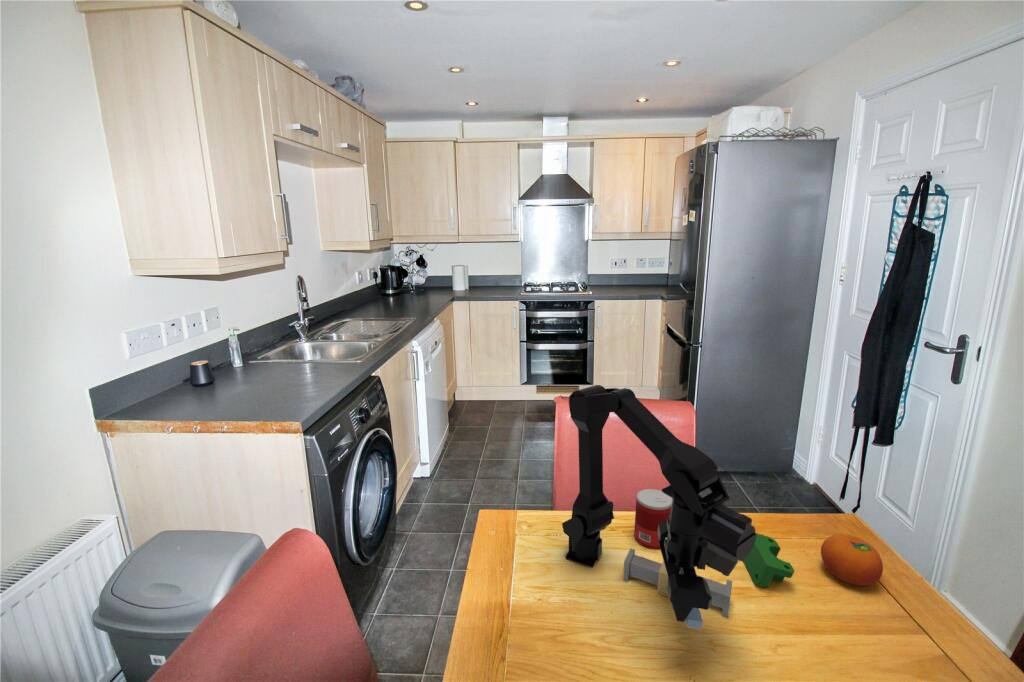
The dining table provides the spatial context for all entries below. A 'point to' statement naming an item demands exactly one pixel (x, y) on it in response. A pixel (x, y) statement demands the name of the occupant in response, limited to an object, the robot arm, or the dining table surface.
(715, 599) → the pipe valve
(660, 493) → the canned food
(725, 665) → the dining table surface
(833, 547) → the fruit
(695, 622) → the lever
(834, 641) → the dining table surface
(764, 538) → the green bracket
